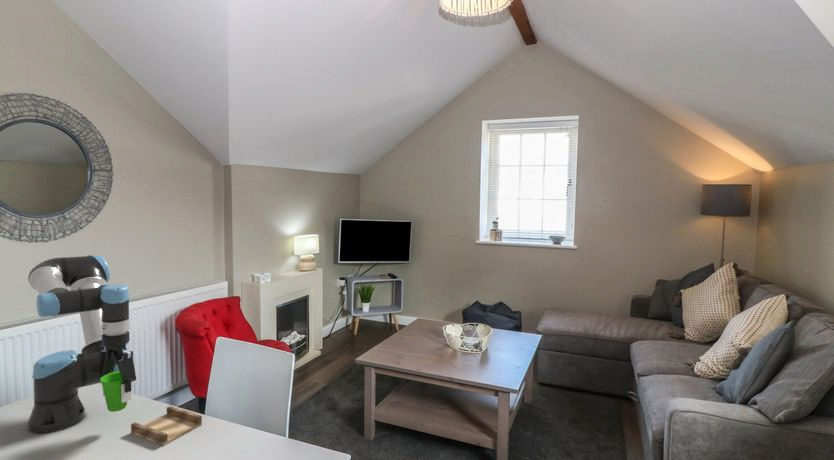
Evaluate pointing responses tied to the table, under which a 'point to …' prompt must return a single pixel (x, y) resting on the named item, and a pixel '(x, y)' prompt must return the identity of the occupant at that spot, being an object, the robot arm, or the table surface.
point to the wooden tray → (168, 426)
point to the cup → (113, 391)
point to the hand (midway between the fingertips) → (116, 397)
